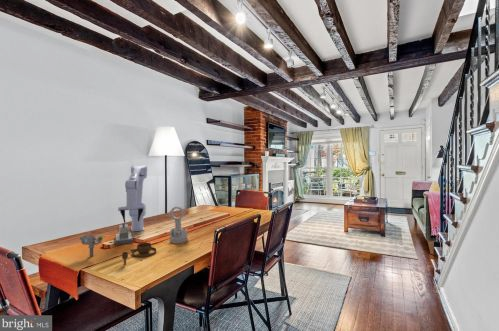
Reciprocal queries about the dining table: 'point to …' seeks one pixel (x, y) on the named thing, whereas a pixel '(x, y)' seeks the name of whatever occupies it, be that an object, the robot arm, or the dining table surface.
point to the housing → (123, 231)
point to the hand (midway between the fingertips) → (131, 221)
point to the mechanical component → (90, 242)
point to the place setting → (140, 251)
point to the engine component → (178, 228)
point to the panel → (123, 239)
